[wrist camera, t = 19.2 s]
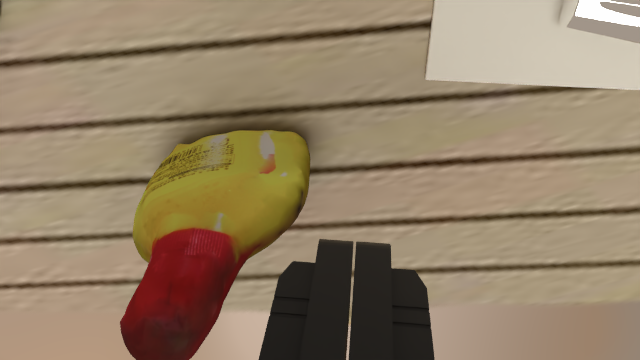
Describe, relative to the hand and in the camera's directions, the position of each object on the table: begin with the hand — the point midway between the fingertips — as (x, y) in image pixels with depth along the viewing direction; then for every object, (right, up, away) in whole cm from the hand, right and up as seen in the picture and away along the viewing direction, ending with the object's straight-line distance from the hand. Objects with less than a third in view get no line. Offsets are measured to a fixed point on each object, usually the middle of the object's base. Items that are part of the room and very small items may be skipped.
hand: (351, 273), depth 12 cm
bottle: (-6, +4, +30) cm, 31 cm away
